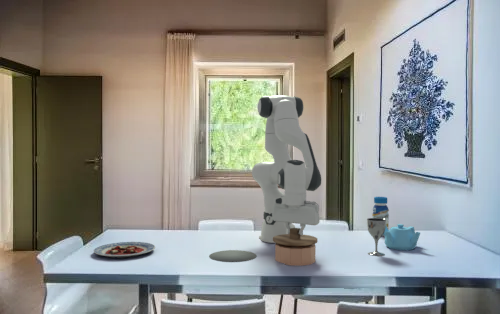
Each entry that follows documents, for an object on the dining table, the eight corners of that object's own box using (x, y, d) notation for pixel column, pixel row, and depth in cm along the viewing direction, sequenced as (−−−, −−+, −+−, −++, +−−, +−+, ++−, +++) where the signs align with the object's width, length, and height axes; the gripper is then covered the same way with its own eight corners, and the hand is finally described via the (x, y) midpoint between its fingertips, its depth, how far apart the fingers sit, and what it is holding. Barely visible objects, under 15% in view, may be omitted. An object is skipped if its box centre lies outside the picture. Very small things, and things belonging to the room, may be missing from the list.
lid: (286, 234, 181) (286, 223, 181) (324, 239, 171) (324, 227, 171) (264, 241, 166) (264, 229, 166) (304, 247, 156) (305, 234, 156)
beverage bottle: (388, 233, 225) (388, 196, 225) (389, 236, 217) (389, 198, 216) (371, 232, 227) (371, 196, 227) (372, 235, 219) (372, 197, 218)
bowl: (287, 253, 180) (287, 238, 180) (321, 258, 171) (321, 243, 171) (268, 261, 167) (268, 245, 167) (303, 267, 158) (303, 250, 158)
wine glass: (386, 252, 182) (386, 218, 182) (385, 257, 174) (386, 221, 174) (367, 251, 184) (367, 217, 184) (366, 255, 177) (366, 220, 177)
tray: (228, 249, 188) (228, 248, 188) (265, 255, 177) (265, 254, 177) (199, 258, 172) (199, 257, 172) (238, 265, 160) (238, 264, 160)
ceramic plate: (149, 260, 169) (149, 253, 169) (85, 261, 167) (85, 254, 167) (159, 246, 195) (159, 239, 195) (103, 246, 193) (103, 240, 193)
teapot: (421, 252, 183) (421, 228, 183) (385, 250, 186) (385, 226, 186) (415, 244, 198) (415, 222, 198) (382, 243, 201) (382, 221, 201)
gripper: (322, 201, 165) (322, 235, 166) (277, 197, 177) (277, 230, 177) (315, 202, 160) (315, 238, 160) (270, 199, 172) (270, 232, 172)
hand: (295, 234), depth 169 cm, fingers closed on lid, 3 cm apart
